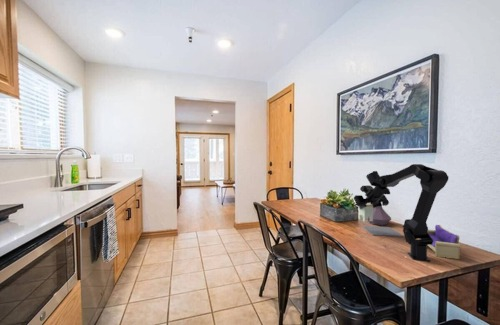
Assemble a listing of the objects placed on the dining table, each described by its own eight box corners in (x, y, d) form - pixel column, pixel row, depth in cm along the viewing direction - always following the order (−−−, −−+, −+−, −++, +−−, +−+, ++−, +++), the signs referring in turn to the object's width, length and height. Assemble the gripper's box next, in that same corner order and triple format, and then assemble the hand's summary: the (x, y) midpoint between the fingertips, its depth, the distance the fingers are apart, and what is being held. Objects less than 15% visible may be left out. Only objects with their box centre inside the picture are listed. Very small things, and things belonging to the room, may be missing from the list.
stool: (372, 221, 129) (373, 204, 129) (364, 221, 128) (364, 205, 128) (366, 218, 134) (366, 203, 134) (358, 219, 134) (358, 203, 133)
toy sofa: (417, 241, 117) (418, 221, 117) (438, 243, 115) (438, 223, 114) (436, 257, 98) (436, 234, 98) (460, 260, 95) (461, 236, 95)
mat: (403, 236, 123) (403, 235, 123) (373, 235, 125) (373, 234, 125) (389, 228, 139) (389, 227, 139) (362, 226, 141) (362, 225, 141)
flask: (370, 218, 161) (370, 191, 161) (396, 223, 149) (396, 193, 148) (359, 222, 151) (359, 193, 151) (386, 228, 138) (386, 196, 138)
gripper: (385, 181, 129) (371, 197, 140) (355, 181, 126) (344, 197, 137) (396, 196, 121) (380, 212, 132) (364, 197, 118) (352, 213, 129)
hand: (364, 208), depth 133 cm, fingers closed on stool, 5 cm apart
